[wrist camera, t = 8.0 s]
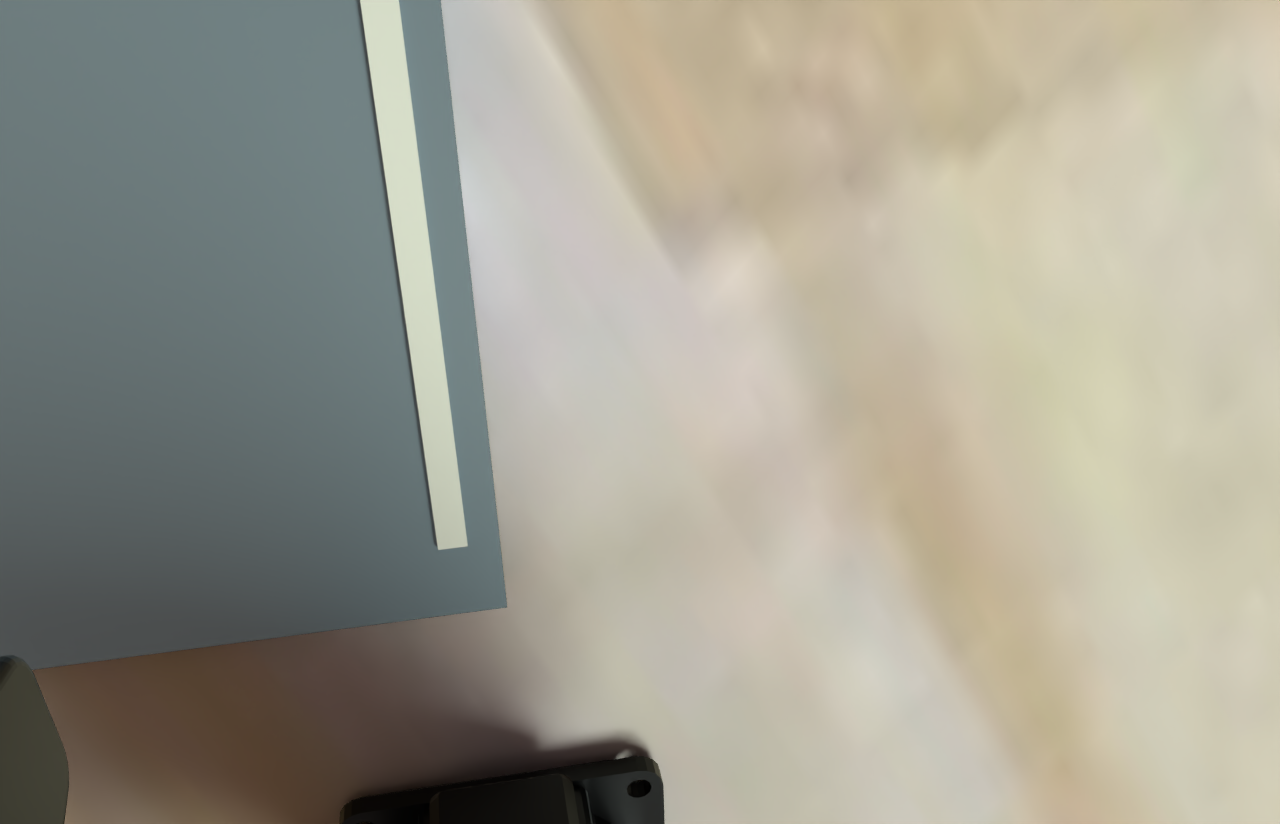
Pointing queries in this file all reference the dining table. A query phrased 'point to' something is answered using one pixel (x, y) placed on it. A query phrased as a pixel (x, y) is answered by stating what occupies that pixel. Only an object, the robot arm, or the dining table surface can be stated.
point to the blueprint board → (233, 328)
